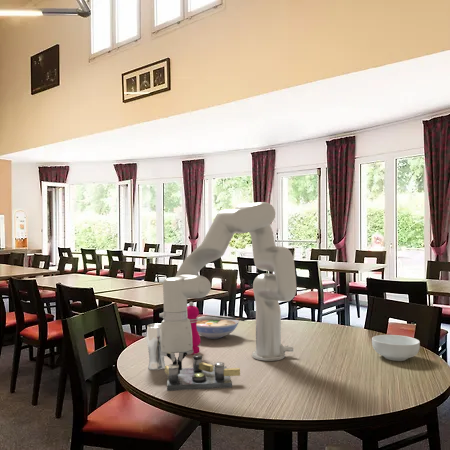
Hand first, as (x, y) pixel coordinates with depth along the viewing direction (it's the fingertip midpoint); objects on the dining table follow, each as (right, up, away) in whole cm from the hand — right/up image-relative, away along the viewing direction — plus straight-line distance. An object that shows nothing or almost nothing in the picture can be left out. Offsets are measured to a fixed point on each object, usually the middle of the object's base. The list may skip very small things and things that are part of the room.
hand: (177, 372), depth 146 cm
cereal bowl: (+80, -3, +24) cm, 83 cm away
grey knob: (+16, -1, -2) cm, 16 cm away
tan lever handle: (+8, -1, +4) cm, 9 cm away
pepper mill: (+2, -3, +34) cm, 34 cm away
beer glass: (-9, -3, +14) cm, 17 cm away
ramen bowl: (+11, -3, +58) cm, 59 cm away
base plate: (+7, -3, +1) cm, 7 cm away
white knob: (-2, -1, -2) cm, 3 cm away
